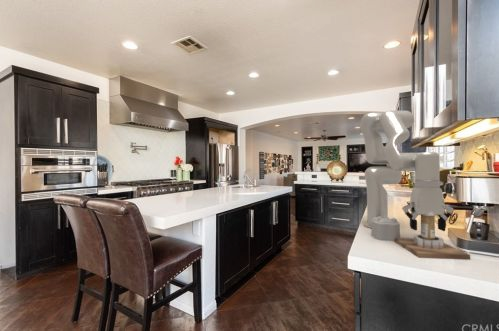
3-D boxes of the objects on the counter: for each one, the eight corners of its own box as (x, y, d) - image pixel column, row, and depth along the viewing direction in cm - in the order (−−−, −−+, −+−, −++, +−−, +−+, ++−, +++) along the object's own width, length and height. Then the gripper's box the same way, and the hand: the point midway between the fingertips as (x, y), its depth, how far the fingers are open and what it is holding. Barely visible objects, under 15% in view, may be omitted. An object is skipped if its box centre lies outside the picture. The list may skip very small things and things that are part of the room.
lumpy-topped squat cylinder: (375, 240, 103) (375, 219, 103) (368, 232, 116) (368, 214, 116) (402, 241, 101) (402, 221, 101) (393, 233, 113) (392, 215, 113)
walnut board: (394, 241, 101) (394, 238, 101) (436, 242, 99) (436, 239, 99) (418, 257, 83) (418, 253, 83) (470, 259, 81) (470, 254, 81)
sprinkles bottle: (437, 247, 88) (437, 211, 88) (423, 246, 89) (423, 210, 90) (432, 244, 93) (431, 209, 93) (418, 243, 94) (418, 208, 94)
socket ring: (409, 241, 96) (409, 234, 96) (433, 242, 95) (433, 234, 95) (422, 249, 87) (422, 240, 87) (449, 249, 86) (449, 241, 86)
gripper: (445, 184, 94) (445, 227, 94) (397, 183, 96) (398, 226, 96) (459, 185, 86) (460, 233, 86) (407, 185, 89) (408, 231, 88)
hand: (427, 229), depth 91 cm, fingers open, 9 cm apart
